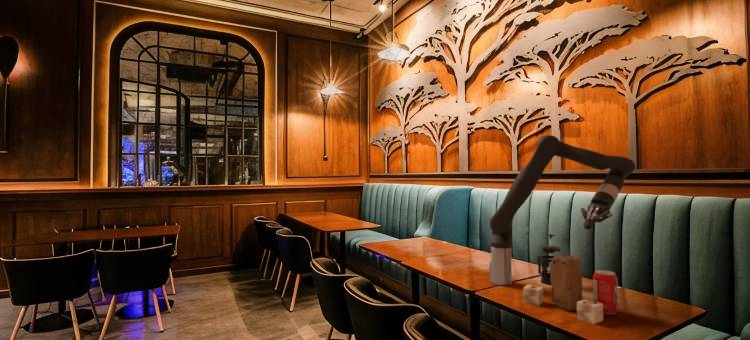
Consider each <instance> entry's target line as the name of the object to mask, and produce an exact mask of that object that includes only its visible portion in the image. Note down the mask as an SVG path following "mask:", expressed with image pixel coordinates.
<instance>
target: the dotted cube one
mask: <svg viewBox="0 0 750 340" xmlns="http://www.w3.org/2000/svg"><path fill="white" fill-rule="evenodd" d="M522 291H523V292H522V295H523V296H522V299H523V300H522V303H524V304H528V305H532V306H533V305H534V306H541V304H542V303H543V302H544V287H543V286H537V285H533V284H526V285H525V286H524V287H523V288H522Z"/></svg>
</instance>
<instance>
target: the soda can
mask: <svg viewBox="0 0 750 340" xmlns="http://www.w3.org/2000/svg"><path fill="white" fill-rule="evenodd" d="M618 282H619V281H618V277H617V275H616V272H614V271H612V270H605V269H597V270H594V273H593V275H592V296H593V297H592V299H593V300H592V301H595V302H598V303H602V304H603V315H608V316H609V315H610V316H611V315H615V314H618V312H619V293H618V291H619V289H618V288H619V287H618V285H619V284H618Z"/></svg>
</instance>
